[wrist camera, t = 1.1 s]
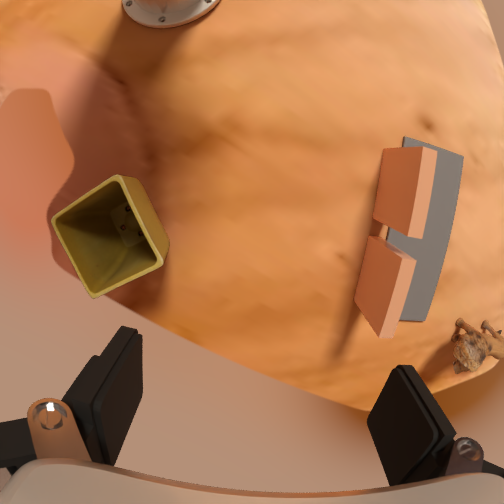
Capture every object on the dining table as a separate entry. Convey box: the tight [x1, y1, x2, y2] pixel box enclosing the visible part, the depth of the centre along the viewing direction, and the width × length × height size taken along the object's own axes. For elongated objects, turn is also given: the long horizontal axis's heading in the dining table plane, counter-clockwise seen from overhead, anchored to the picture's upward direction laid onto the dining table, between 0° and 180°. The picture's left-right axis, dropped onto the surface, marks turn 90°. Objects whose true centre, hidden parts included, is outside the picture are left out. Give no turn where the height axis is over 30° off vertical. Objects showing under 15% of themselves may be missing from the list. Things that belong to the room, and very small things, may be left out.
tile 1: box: [354, 235, 417, 338], centre depth 31 cm, size 8×2×9 cm, turn 172°
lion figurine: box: [452, 318, 504, 374], centre depth 34 cm, size 15×5×9 cm, turn 86°
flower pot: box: [51, 174, 170, 299], centre depth 30 cm, size 9×9×9 cm
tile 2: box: [372, 146, 437, 239], centre depth 28 cm, size 8×2×9 cm, turn 172°
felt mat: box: [386, 137, 464, 321], centre depth 34 cm, size 22×9×1 cm, turn 172°
